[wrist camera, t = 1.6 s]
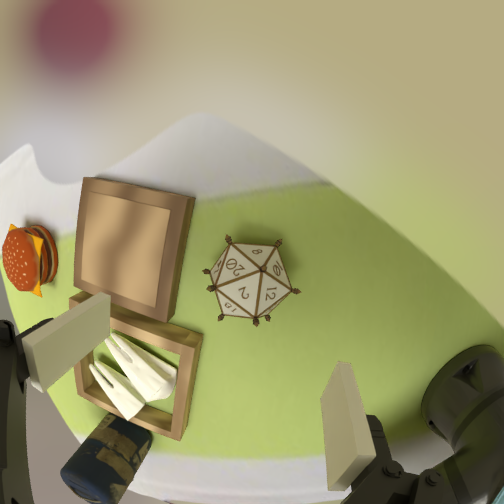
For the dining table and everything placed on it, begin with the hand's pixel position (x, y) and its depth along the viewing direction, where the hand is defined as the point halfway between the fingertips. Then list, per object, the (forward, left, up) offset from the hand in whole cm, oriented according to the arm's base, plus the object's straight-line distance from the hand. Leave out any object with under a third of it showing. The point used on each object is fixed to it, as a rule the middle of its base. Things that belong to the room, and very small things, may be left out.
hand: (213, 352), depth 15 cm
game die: (0, 0, -17) cm, 17 cm away
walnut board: (+15, +1, -17) cm, 23 cm away
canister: (+14, +34, -17) cm, 40 cm away
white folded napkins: (+13, +18, -17) cm, 28 cm away
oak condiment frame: (+13, +18, -17) cm, 28 cm away
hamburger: (+32, +7, -17) cm, 37 cm away
